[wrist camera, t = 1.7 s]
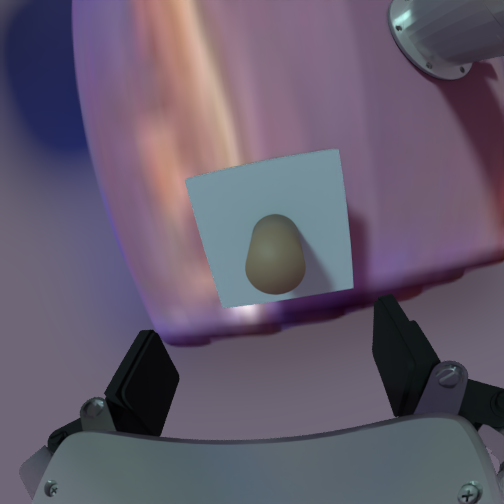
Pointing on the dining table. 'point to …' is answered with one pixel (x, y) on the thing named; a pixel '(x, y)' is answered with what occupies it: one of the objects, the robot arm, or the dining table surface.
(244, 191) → the lid
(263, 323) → the dining table surface
